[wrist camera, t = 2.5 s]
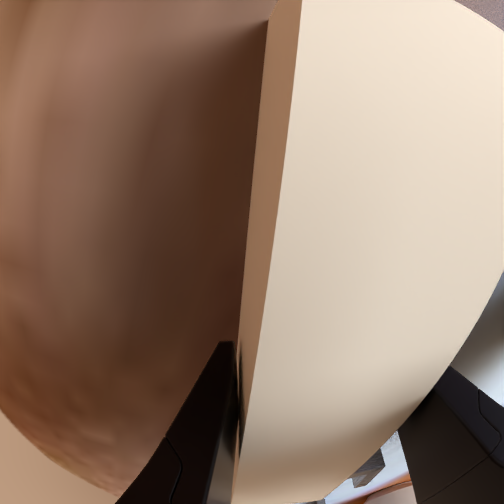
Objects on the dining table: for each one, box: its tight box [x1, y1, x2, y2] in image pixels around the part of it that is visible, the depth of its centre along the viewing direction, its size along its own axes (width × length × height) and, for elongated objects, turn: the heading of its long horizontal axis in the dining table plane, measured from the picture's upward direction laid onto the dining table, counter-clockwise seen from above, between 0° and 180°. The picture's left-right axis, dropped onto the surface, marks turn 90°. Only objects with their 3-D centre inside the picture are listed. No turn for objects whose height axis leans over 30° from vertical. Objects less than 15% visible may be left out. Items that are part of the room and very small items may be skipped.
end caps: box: [315, 448, 385, 504], centre depth 18 cm, size 10×22×2 cm, turn 2°
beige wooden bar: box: [231, 0, 504, 504], centre depth 8 cm, size 4×16×4 cm, turn 175°
